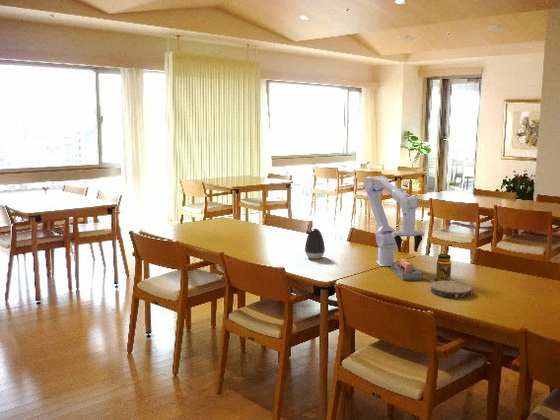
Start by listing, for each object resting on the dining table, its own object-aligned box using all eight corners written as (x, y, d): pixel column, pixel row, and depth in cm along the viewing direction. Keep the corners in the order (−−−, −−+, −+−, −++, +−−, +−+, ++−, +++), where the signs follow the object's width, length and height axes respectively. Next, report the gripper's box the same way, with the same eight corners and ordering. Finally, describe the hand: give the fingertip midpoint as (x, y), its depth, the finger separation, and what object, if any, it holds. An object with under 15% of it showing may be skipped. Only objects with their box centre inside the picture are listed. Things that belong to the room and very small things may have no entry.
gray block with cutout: (390, 269, 266) (390, 263, 266) (409, 268, 267) (409, 262, 267) (402, 280, 249) (402, 273, 248) (422, 279, 249) (422, 273, 249)
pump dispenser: (300, 256, 290) (301, 227, 288) (318, 254, 295) (318, 226, 292) (310, 261, 281) (311, 231, 279) (328, 258, 286) (329, 229, 283)
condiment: (449, 284, 242) (450, 257, 240) (429, 282, 246) (430, 255, 244) (452, 280, 248) (454, 254, 246) (433, 278, 252) (434, 251, 250)
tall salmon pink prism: (399, 271, 263) (399, 258, 262) (405, 271, 263) (406, 258, 262) (405, 277, 253) (406, 264, 252) (412, 277, 253) (412, 264, 252)
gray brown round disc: (425, 287, 238) (425, 281, 238) (462, 287, 240) (462, 280, 239) (439, 300, 223) (439, 292, 222) (477, 299, 224) (478, 291, 224)
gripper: (395, 224, 255) (394, 254, 257) (427, 224, 256) (425, 253, 258) (391, 221, 262) (390, 250, 264) (421, 221, 263) (420, 249, 265)
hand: (407, 251), depth 261 cm, fingers open, 7 cm apart
